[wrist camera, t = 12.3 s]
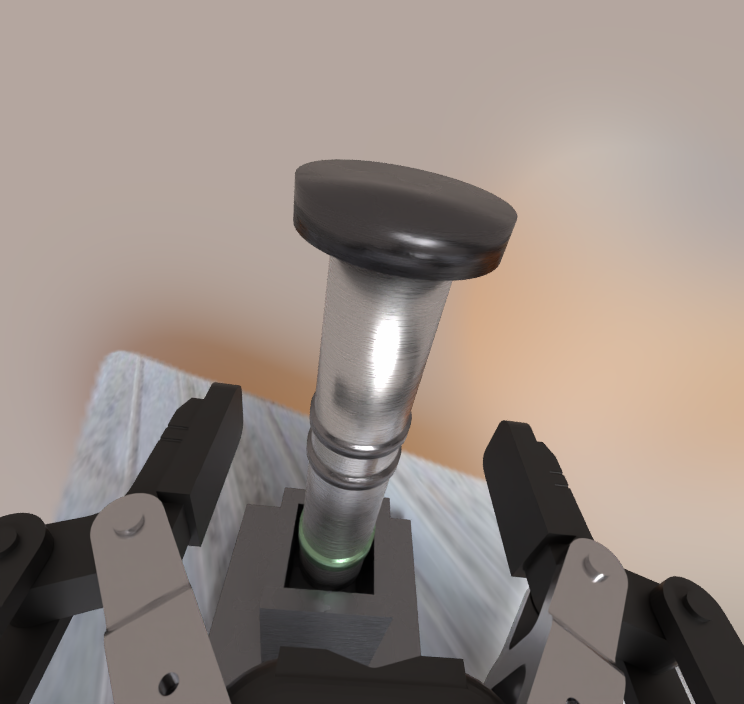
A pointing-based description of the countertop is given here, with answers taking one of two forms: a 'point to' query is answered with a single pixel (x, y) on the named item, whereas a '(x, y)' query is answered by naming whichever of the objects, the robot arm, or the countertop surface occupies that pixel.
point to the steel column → (377, 332)
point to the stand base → (313, 596)
